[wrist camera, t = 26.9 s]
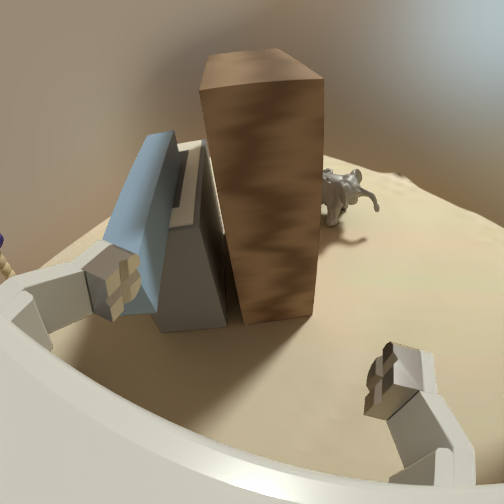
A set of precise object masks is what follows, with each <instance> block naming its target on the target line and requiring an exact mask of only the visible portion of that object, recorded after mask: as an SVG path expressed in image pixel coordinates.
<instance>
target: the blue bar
mask: <svg viewBox="0 0 504 504" xmlns="http://www.w3.org/2000/svg"><path fill="white" fill-rule="evenodd" d="M180 166H181V158H180V154H179V150H178V145H177V141H176V137H175V133H174V130H172V131H167V132H162V133H157V134H153V135H148V136H147V137H146V139H145V141H144V143H143V146H142V148H141V150H140V152H139V154H138V156H137V158H136V160H135V162H134V164H133V166H132V169H131V171H130V173H129V175H128V177H127V180H126V182H125V184H124V187H123V189H122V191H121V194H120V196H119V198H118V201H117V203H116V205H115V208H114V210H113V213H112V215H111V218H110V220H109V223H108V226H107V228H106V231H105V234H104V236H103V239H102V240H105V241H107V242H109V243H111V244H115V245H117V246H119V247H121V248H124V249H126V250H128V251H131V252H133V253H135V254H137V255H138V256H139V257H140V266H139V267H138V268H137V270H138V272H139V273H140V275H141V285H140V289H139V291H138V293H137V295H136V297H135V298H134V299H133V300H132V301H131V302H128V303H125V304H124V310H123V312H122V313H121V314H120V315H119V316H124V315H136V314H148V313H157V308H158V299H159V291H160V283H161V276H162V269H163V262H164V255H165V248H166V242H167V236H168V230H169V224H170V218H171V212H172V207H173V201H174V196H175V191H176V186H177V181H178V176H179V171H180Z"/></svg>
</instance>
